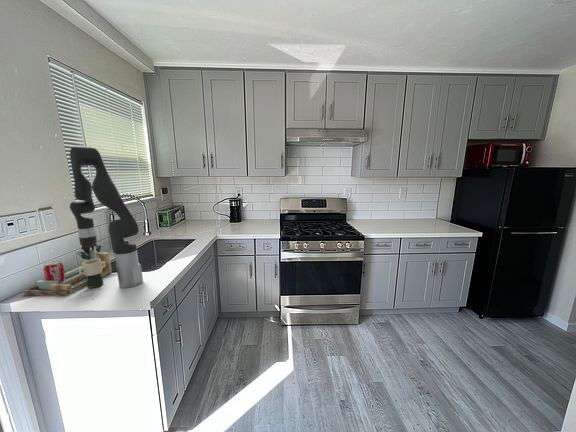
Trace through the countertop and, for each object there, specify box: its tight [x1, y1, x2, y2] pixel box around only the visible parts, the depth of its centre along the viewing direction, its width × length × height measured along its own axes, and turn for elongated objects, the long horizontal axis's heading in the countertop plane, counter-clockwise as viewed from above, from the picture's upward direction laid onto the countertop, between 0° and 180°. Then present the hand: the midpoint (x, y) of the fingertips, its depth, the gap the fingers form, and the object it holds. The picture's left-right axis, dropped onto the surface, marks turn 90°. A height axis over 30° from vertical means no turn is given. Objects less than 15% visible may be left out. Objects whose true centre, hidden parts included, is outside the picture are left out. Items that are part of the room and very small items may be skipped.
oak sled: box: [49, 251, 113, 295], centre depth 121 cm, size 10×25×11 cm, turn 176°
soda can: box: [42, 260, 67, 284], centre depth 117 cm, size 7×7×12 cm
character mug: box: [78, 259, 106, 288], centre depth 116 cm, size 11×7×13 cm, turn 152°
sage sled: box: [36, 250, 97, 290], centre depth 125 cm, size 10×25×11 cm, turn 175°
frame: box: [23, 270, 71, 297], centre depth 119 cm, size 22×23×2 cm
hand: (92, 264), depth 137 cm, fingers closed
